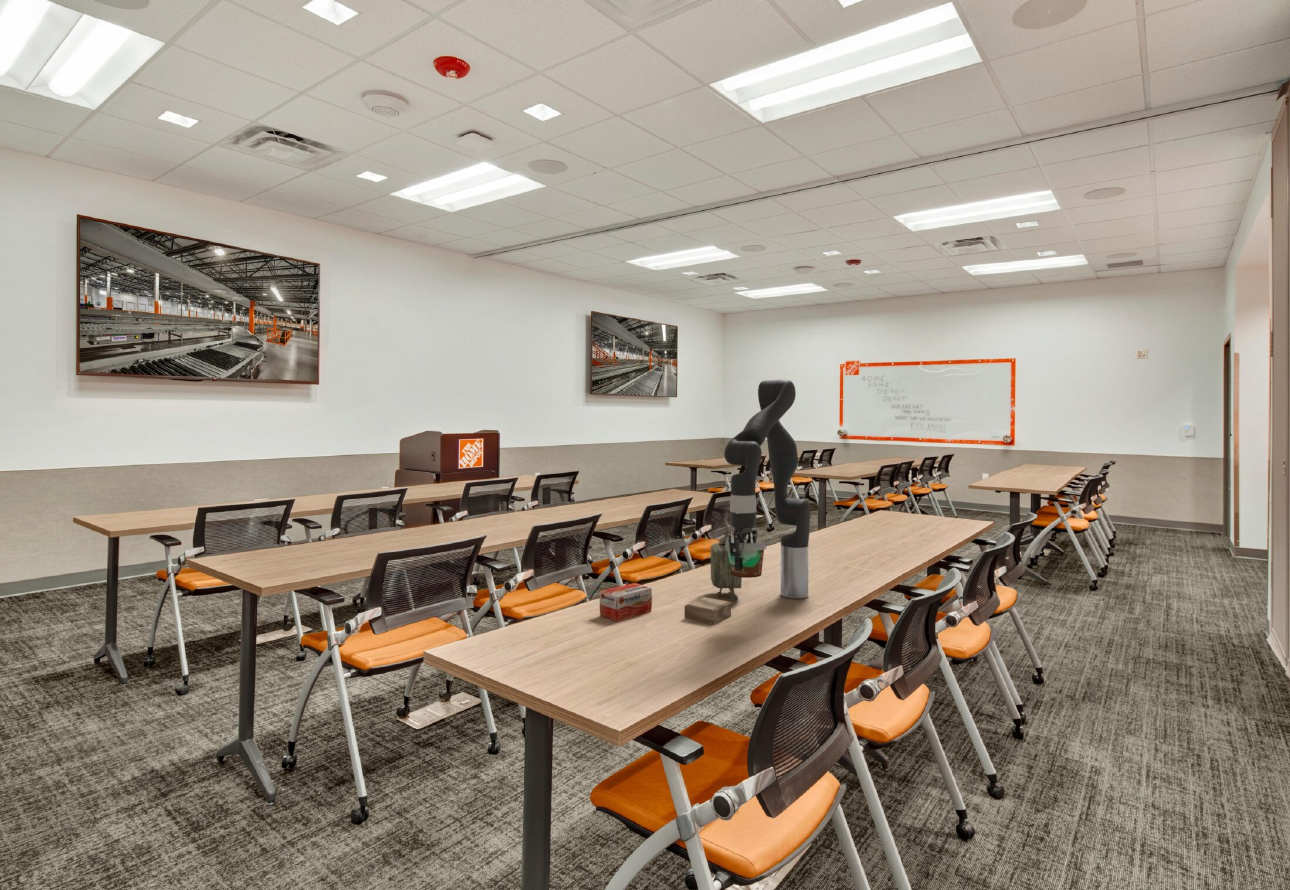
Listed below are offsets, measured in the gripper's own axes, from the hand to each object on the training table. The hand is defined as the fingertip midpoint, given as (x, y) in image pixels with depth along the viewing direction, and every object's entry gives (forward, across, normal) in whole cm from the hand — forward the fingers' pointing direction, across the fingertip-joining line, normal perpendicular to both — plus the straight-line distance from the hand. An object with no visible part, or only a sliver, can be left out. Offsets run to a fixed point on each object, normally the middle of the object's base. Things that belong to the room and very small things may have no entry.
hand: (743, 567), depth 189 cm
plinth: (+17, -2, -13) cm, 22 cm away
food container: (+2, +1, 0) cm, 3 cm away
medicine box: (+18, +10, -36) cm, 41 cm away
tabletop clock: (+18, -26, -20) cm, 37 cm away
